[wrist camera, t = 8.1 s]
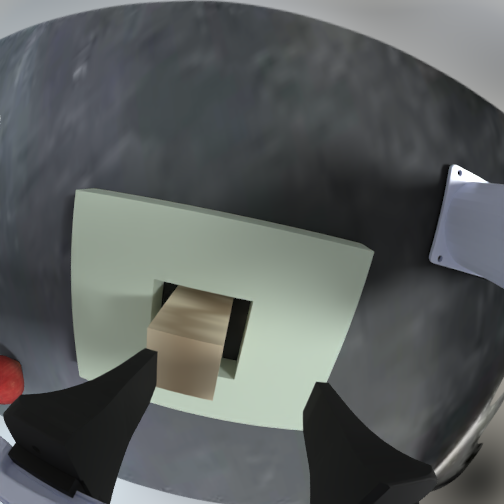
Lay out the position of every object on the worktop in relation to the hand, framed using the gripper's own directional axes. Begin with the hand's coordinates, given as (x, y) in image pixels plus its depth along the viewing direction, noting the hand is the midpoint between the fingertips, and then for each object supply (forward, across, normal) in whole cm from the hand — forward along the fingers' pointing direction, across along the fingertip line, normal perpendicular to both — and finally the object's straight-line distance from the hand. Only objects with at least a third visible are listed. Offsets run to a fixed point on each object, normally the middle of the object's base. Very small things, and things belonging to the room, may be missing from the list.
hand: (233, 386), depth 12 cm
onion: (+9, +25, +16) cm, 31 cm away
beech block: (+9, +3, +1) cm, 10 cm away
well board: (+9, +3, +2) cm, 10 cm away
